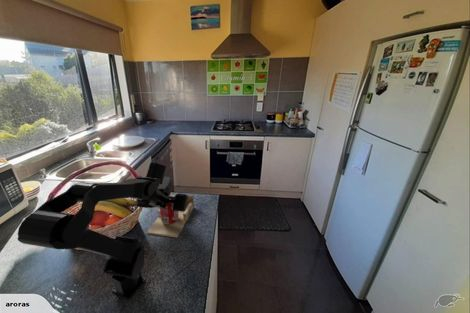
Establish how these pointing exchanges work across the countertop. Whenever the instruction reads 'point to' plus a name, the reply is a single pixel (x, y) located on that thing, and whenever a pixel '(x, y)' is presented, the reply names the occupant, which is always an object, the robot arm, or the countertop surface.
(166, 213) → the soda can
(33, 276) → the countertop surface
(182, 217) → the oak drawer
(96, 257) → the countertop surface
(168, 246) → the countertop surface
